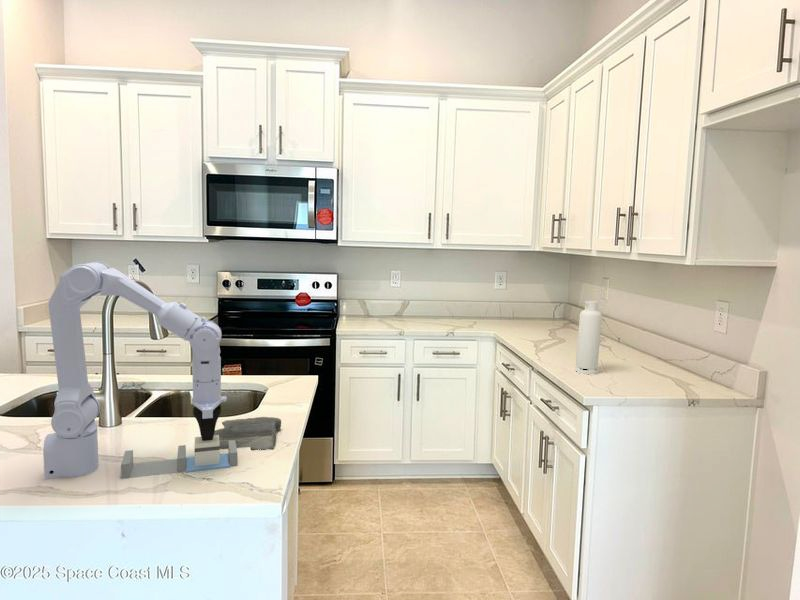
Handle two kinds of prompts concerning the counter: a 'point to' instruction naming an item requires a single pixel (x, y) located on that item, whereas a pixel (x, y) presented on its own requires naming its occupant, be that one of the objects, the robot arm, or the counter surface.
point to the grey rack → (174, 463)
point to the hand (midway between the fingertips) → (207, 439)
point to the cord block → (207, 451)
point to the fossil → (250, 432)
